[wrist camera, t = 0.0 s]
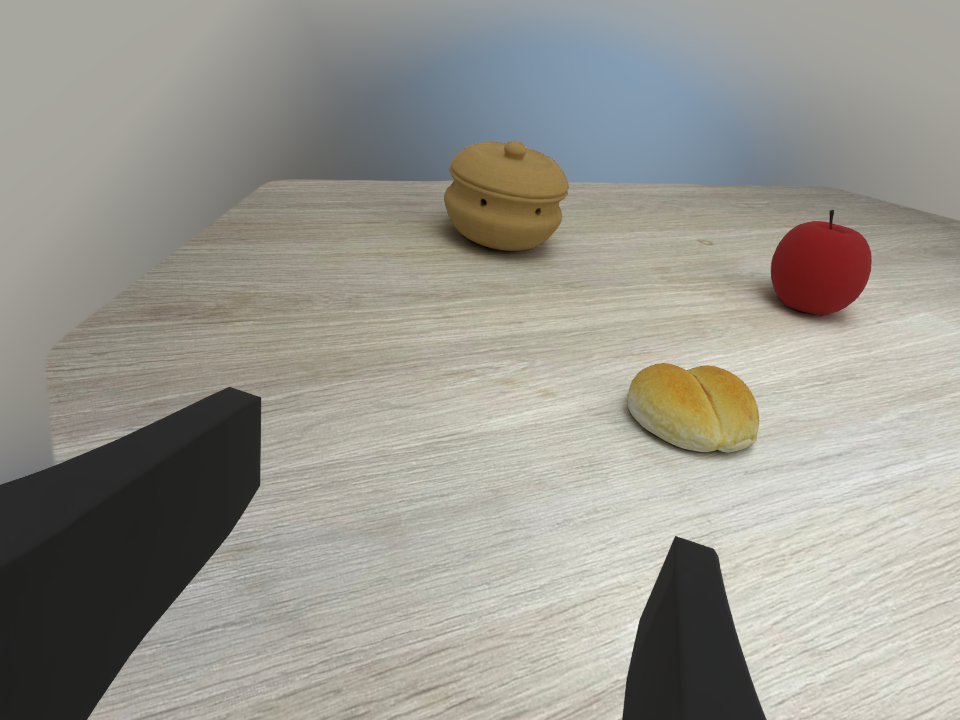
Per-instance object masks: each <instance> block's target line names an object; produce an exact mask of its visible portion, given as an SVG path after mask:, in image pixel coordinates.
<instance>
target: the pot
mask: <svg viewBox="0 0 960 720" xmlns="http://www.w3.org/2000/svg"><path fill="white" fill-rule="evenodd" d="M449 171H450V173H451V176H452V177H453V179H454V181H453V183H452V184H451V185H450V186H449V187H448V188H447V189H446V192H445V195H444V202H445V206H446V209H447V212H448V214H449V217H450V219H451V221H452V223H453V225H454V226H455V228H456V229H457V230H458V231H459V232H460V233H461V234H462V235H463V236H465V237H466V238H468V239H470V240H472V241H474V242H476V243H478V244H480V245H483V246H486V247H489V248H494V249H499V250H507V251H519V250H527V249H530V248H533V247H536V246H538V245H539V244H541V243H543V242H544V241H545V240H547V239H548V238H549V237H550V236H551V235H552V234H553V233H554V231H555V230H556V229H557V228H558V226H559V224H560V223H561V221H562V212H561V209H560V207H559V201H561V200H563V199H564V198H565V197H566V196H567V194H568V192H567V190H568V188H569V186H568V181H567V178H566V176H565V174H564V172H563V171H562V169H561V168H560V167H559V165H558V164H557V163H556V162H555V161H554V160H552V159H551V158H550V157H548V156H546V155H544V154H542V153H540V152H537V151H535V150H532V149H529V148H526V147H525V146H524V145H523V144H522V143H520V142H518V141H511V142H508V143H507V144H505V143H497V142H496V143H495V142H484V143H477V144H474V145H471V146H469V147H467V148H465V149H464V150H463V151H461V152H460V153H459V154H457V155H456V156H455V157H454V159H453V160H452V162H451V167H450V170H449Z"/></svg>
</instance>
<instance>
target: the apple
mask: <svg viewBox="0 0 960 720" xmlns="http://www.w3.org/2000/svg"><path fill="white" fill-rule="evenodd" d="M833 215H834V210H830V223H828V222H821V221H812V222H807V223H803V224H800V225H798V226H796V227H794V228H793V229H792V230H790V231H789V232H788V233H787V234H786V235H785V236H784V237H783V239H782V240H781V241H780V243H779V244H778V246H777V248H776V251H775V253H774V255H773V258H772V262H771V279H772V283H773V287H774V289H775V291H776V293H777V295H778V297H779V298H780V299H781V301H782V302H783V303H784V304H785V305H787V306H789V307H791V308H793V309H796V310H798V311H802V312H807V313H812V314H817V315H827V314H830V313H834V312H837V311H839V310H841V309H843V308H845V307H847V306H848V305H849V304H851V303H852V302H854V301H855V300H856V299H857V298H858V297H859V295H860V294H861V292H862V291H863V290H864V288H865V286H866V284H867V282H868V279H869V275H870V272H871V261H872V260H871V251H870V248H869V245H868V243H867V241H866V239H865V238H864V237H863V236H862V235H861V234H860V233H858V232H857V231H855V230H853V229H850V228H847V227H843V226H840V225H836V224H832V220H833Z"/></svg>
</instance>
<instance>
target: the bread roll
mask: <svg viewBox="0 0 960 720" xmlns="http://www.w3.org/2000/svg"><path fill="white" fill-rule="evenodd" d="M628 408H629V410H630V412H631V414H632V416H633V417H634V418H635V419H636V420H637V421H638V422H639V423H640V424H641V425H642V426H643V427H644V428H645V429H646V430H648V431H650V432H651V433H653V434H654V435H656V436H658V437H659V438H661V439H663V440H665V441H667V442H669V443H671V444H673V445H675V446H678V447H680V448H683V449H688V450H693V451H699V452H711V451H714V450H719V451H722V452H726V453H729V452H735V451H738V450H742V449H745V448H746V447H748V446H751V445H752V444H753V443H754V442H755V441H756V439H757V433H758V426H759V413H758V408H757V404H756V401H755V399H754V397H753V395H752V393H751V391H750V389H749V388H748V387H747V385H746V384H745V383H744V382H743V381H742V380H740V379H739V378H738V377H737V376H735V375H734V374H732V373H730V372H728V371H726V370H724V369H721V368H718V367H715V366H700V367H696V368H692V369H690V370H687V371H686V370H684V369H682V368H680V367H678V366H675V365H671V364H666V363H661V364H655V365H652V366H649V367H647V368H645V369H643V370H642V371H640V372H639V373H638V374H637V375H636V377H635V378H634V379H633V380H632V383H631V385H630V388H629V392H628Z"/></svg>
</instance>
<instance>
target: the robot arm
mask: <svg viewBox="0 0 960 720" xmlns="http://www.w3.org/2000/svg"><path fill="white" fill-rule="evenodd" d="M260 453H261V397H258V396H255V395H252V394H249V393H246V392H243V391H240V390H237V389H234V388H231V387H228V388H226V389H224V390H221V391H219V392H217V393H215V394H213V395H210V396H208V397H206V398H204V399H202V400H200V401H198V402H196V403H194V404H192V405H190V406H188V407H185V408H183V409H181V410H179V411H177V412H175V413H173V414H171V415H169V416H167V417H165V418H163V419H161V420H158V421H156V422H154V423H152V424H150V425H148V426H146V427H143V428H141V429H139V430H137V431H135V432H133V433H131V434H128V435H126V436H124V437H122V438H120V439H118V440H115V441H113V442H111V443H108V444H106V445H103V446H101V447H99V448H96V449H94V450H91V451H89V452H87V453H84V454H82V455H79V456H77V457H75V458H72V459H70V460H67V461H65V462H63V463H60V464H58V465H55V466H53V467H50V468H48V469H45V470H42V471H39V472H37V473H34V474H31V475H28V476H25V477H23V478H19V479H16V480H14V481H11V482H8V483H4V484H1V485H0V720H87V719H88V717H89V716H90V714H91V713H92V711H93V710H94V708H95V706H96V705H97V703H98V702H99V700H100V699H101V698H102V696H103V695H104V693H105V692H106V690H107V689H108V687H109V686H110V684H111V683H112V681H113V680H114V678H115V677H116V675H117V674H118V673H119V671H120V670H121V668H122V667H123V665H124V664H125V662H126V661H127V659H128V658H129V656H130V655H131V654H132V652H133V651H134V650H135V649H136V647H137V646H138V645H139V643H140V642H141V641H142V639H143V638H144V637H145V635H146V634H147V633H148V632H149V631H150V629H151V628H152V627H153V626H154V625H155V623H156V622H157V621H158V620H159V619H160V617H161V616H162V615H163V614H164V613H165V611H166V610H167V609H168V608H169V607H170V605H171V604H172V603H173V602H174V601H175V599H176V598H177V597H178V596H179V595H180V593H181V592H182V591H183V590H184V589H185V588H186V586H187V585H188V584H189V583H190V582H191V580H192V579H193V578H194V577H195V576H196V574H197V573H198V572H199V571H200V570H201V568H202V567H203V566H204V565H205V564H206V562H207V561H208V560H209V559H210V557H211V556H212V555H213V554H214V553H215V551H216V550H217V549H218V548H219V546H220V545H221V544H222V543H223V542H224V540H225V539H226V538H227V537H228V535H229V534H230V533H231V531H232V530H233V528H234V526H235V525H236V523H237V522H238V520H239V519H240V517H241V516H242V514H243V513H244V511H245V509H246V508H247V506H248V505H249V503H250V501H251V500H252V498H253V496H254V495H255V493H256V491H257V490H258V488H259V487H260ZM622 720H766V717H765V715H764V712H763V710H762V707H761V705H760V702H759V699H758V696H757V694H756V691H755V688H754V685H753V683H752V680H751V677H750V674H749V670H748V667H747V664H746V661H745V658H744V655H743V652H742V649H741V646H740V643H739V639H738V636H737V633H736V629H735V626H734V622H733V619H732V615H731V611H730V607H729V604H728V600H727V596H726V592H725V587H724V583H723V578H722V574H721V569H720V563H719V558H718V555H717V553H716V552H715V550H714V549H713V548H710V547H707V546H704V545H701V544H698V543H695V542H692V541H689V540H686V539H683V538H680V537H677V536H675V538H674V540H673V543H672V545H671V547H670V550H669V552H668V554H667V557H666V559H665V562H664V564H663V566H662V569H661V571H660V573H659V576H658V578H657V580H656V583H655V585H654V587H653V590H652V592H651V595H650V597H649V599H648V602H647V604H646V606H645V609H644V611H643V613H642V616H641V618H640V621H639V625H638V630H637V634H636V639H635V643H634V648H633V652H632V657H631V662H630V666H629V671H628V676H627V681H626V690H625V700H624V709H623V719H622Z"/></svg>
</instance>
